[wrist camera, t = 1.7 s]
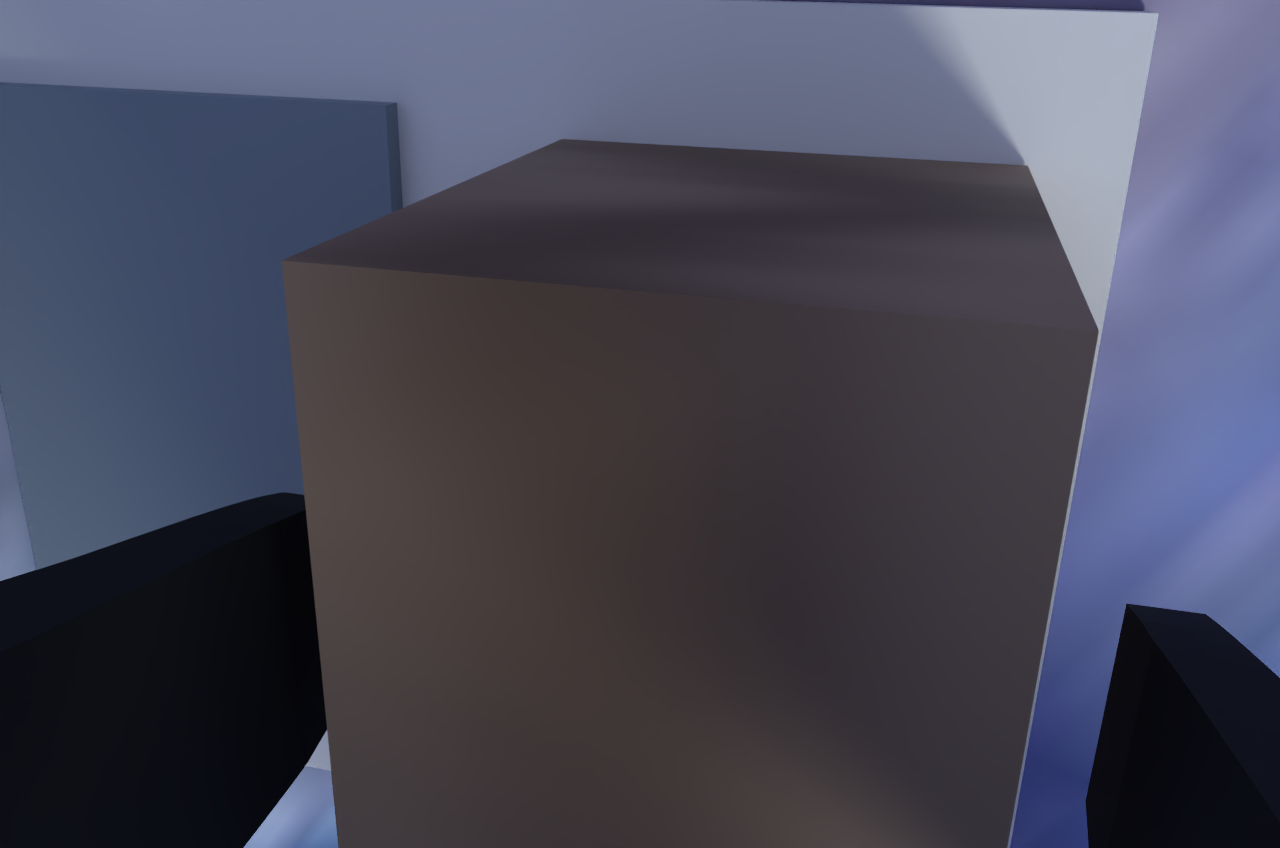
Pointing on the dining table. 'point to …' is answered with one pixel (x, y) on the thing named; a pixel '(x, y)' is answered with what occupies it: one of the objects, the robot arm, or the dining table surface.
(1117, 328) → the dining table surface
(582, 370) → the walnut block
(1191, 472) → the dining table surface
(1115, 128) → the board
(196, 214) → the pad
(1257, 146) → the dining table surface
